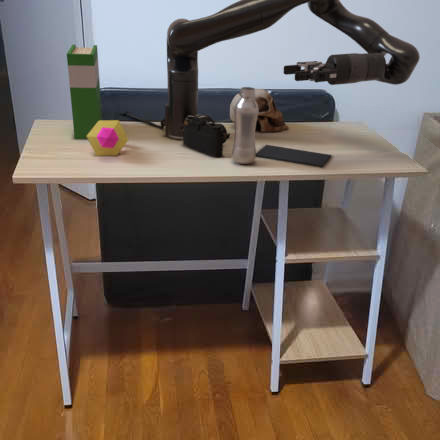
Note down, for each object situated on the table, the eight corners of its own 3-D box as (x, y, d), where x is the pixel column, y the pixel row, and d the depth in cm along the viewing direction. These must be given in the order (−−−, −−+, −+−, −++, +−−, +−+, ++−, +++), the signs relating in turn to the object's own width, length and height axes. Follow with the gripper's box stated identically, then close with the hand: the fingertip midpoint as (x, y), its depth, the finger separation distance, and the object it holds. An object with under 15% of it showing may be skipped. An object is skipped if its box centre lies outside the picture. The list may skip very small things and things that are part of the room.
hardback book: (79, 123, 184) (72, 44, 171) (102, 123, 185) (97, 45, 172) (74, 139, 169) (66, 53, 157) (99, 139, 170) (93, 54, 157)
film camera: (243, 148, 168) (245, 115, 163) (223, 159, 158) (225, 124, 153) (192, 138, 175) (193, 105, 170) (170, 148, 165) (170, 113, 160)
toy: (131, 147, 167) (114, 114, 164) (133, 147, 150) (115, 110, 147) (100, 162, 167) (83, 129, 163) (100, 164, 150) (81, 127, 146)
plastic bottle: (255, 166, 154) (261, 91, 144) (231, 165, 154) (235, 90, 144) (254, 159, 160) (260, 86, 149) (231, 158, 160) (235, 85, 149)
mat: (254, 156, 162) (254, 154, 162) (266, 146, 171) (266, 144, 171) (322, 167, 156) (322, 165, 156) (330, 156, 165) (330, 154, 165)
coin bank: (291, 127, 189) (292, 87, 182) (257, 142, 180) (256, 99, 172) (258, 119, 199) (257, 80, 191) (223, 132, 190) (221, 92, 182)
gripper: (336, 49, 153) (280, 53, 150) (360, 58, 142) (300, 62, 139) (334, 78, 157) (279, 82, 154) (356, 89, 146) (298, 94, 143)
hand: (289, 73), depth 146 cm, fingers open, 8 cm apart
